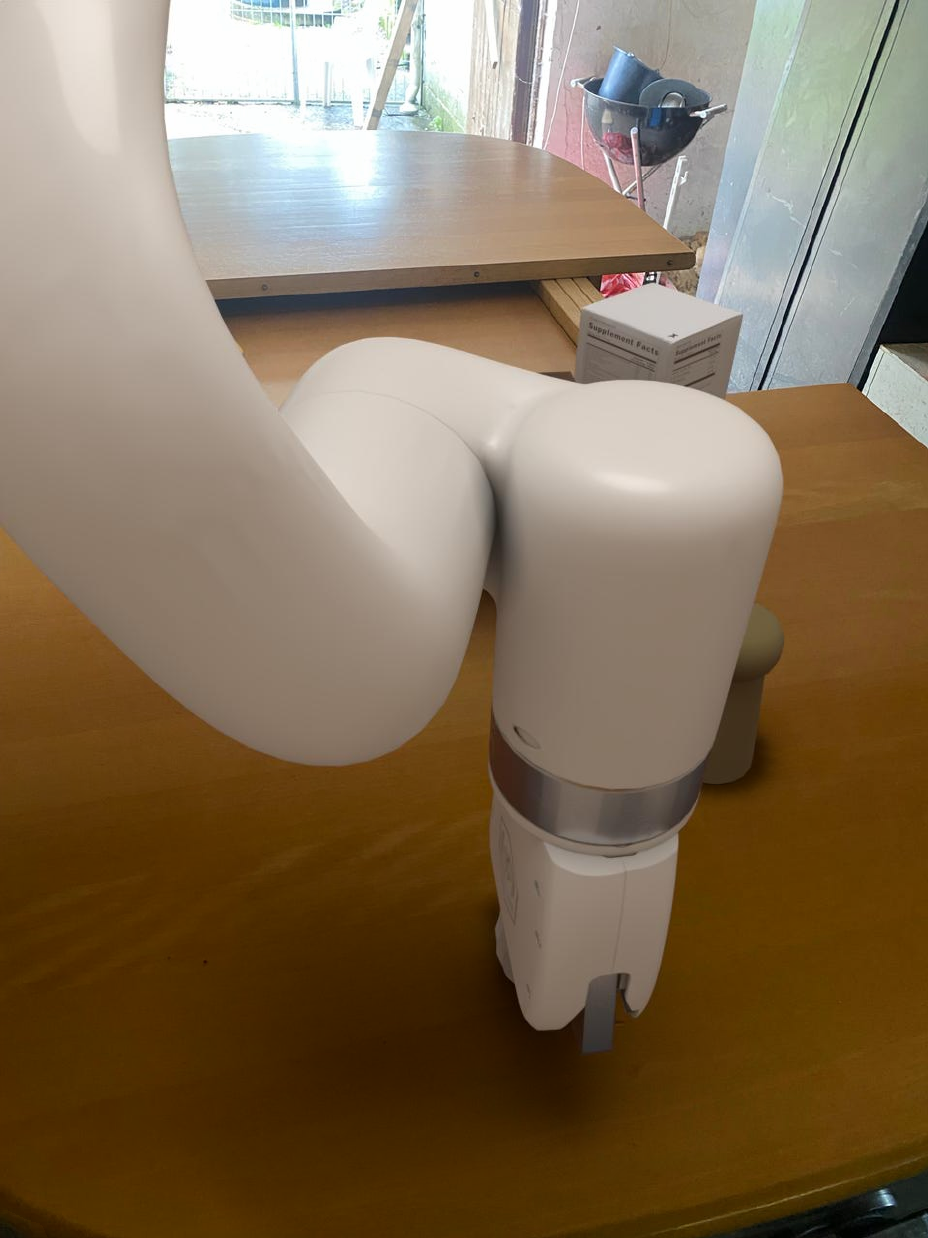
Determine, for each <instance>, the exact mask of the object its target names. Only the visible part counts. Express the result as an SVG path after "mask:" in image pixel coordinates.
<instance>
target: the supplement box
mask: <svg viewBox="0 0 928 1238" xmlns="http://www.w3.org/2000/svg"><path fill="white" fill-rule="evenodd" d="M743 318H744V313H742V312H739V311H736V310H734V309H731V308H728V307H725V306H723V305H718V304H716V303H713V302H710V301H708V300H705V299H703V298H699V297H696V296H693V295H691V294H687V293H685V292H682V291H679V290H676V289H673V288H670V287H669V286H668V287H667V286H665V285H662V284H659V283H656V282H650V283H646V284H642V285H640V286H637V287H635V288H631V289H630V290H627V291H624V292H621V293H618V294H616V295H612V296H609V297H606V298H604V299H601V300H598V301H595V302H593V303H590V304H587V305H585V306H582V307H581V309H580V318H579V324H578V325H579V326H578V336H577V346H576V356H575V365H574V374H573V377H574V379H575V381H576V383H579V384H590V383H596V382H602V381H613V380H644V381H657V382H664V383H670V384H676V385H680V386H685V387H689V388H693V389H696V390H699V391H702V392H706V393H709V394H711V395H713V396H716V397H718V398H721V399H723V400H725V401H726V396H727V393H728V389H729V384H730V378H731V374H732V369H733V364H734V361H735V356H736V351H737V346H738V343H739V342H738V341H739V337H740V333H741V328H742V324H743Z"/></svg>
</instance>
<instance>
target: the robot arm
mask: <svg viewBox="0 0 928 1238" xmlns="http://www.w3.org/2000/svg"><path fill="white" fill-rule="evenodd" d="M171 1H172V0H0V526H1V527H2V529H3V530H4V532H6V534H7V535H8V536H9V537H10V538H11V540H12V541H13V542H14V543H15V544H16V545H17V547H18V548H19V549H20V550H21V551H22V552H23V553H24V555H25V556H26V557H27V558H28V559H29V560H30V561H31V563H32V564H33V565H34V566H35V567H36V568H37V569H38V570H39V571H40V572H41V573H42V574H43V575H44V577H46V578H47V579H48V581H49V582H50V583H52V585H53V586H54V587H56V589H57V590H58V591H59V592H60V593H62V595H64V597H65V598H66V599H68V601H69V602H71V604H72V605H73V606H75V608H77V610H79V611H80V613H82V614H83V615H84V616H85V617H86V618H87V619H88V620H89V621H90V622H91V623H92V624H93V626H95V627H96V628H97V629H98V630H99V631H100V632H101V633H102V634H103V635H104V636H105V637H106V638H107V639H108V640H109V641H110V642H111V643H113V645H114V646H115V647H116V648H117V649H118V650H119V651H121V653H123V654H124V655H125V656H126V657H127V658H128V659H129V660H130V661H131V662H132V663H134V664H135V665H136V667H138V668H139V669H140V670H141V671H142V672H143V673H144V674H145V675H146V676H147V677H149V678H150V679H151V681H153V683H155V684H156V685H157V686H158V687H160V688H161V689H162V690H163V691H165V692H166V693H167V694H169V696H171V697H172V698H173V699H174V700H175V701H177V703H179V704H180V705H182V706H183V708H185V709H186V710H188V711H189V712H191V713H192V714H194V715H195V716H196V717H198V718H199V719H200V720H202V721H204V722H205V723H206V724H208V725H209V726H211V727H212V728H213V729H215V730H216V731H218V732H220V733H222V734H224V735H225V736H227V737H229V738H230V739H232V740H235V741H237V742H238V743H240V744H241V745H244V746H246V747H247V748H249V749H252V750H255V751H257V752H260V753H263V754H265V755H268V756H269V757H274V758H276V759H279V760H282V761H285V762H289V763H295V764H300V765H304V766H305V765H306V766H312V767H346V766H351V765H355V764H360V763H361V764H362V763H366V762H370V761H374V760H376V759H378V758H380V757H383V756H384V755H387V754H390V753H392V752H394V751H397V750H398V749H400V748H401V747H402V746H404V745H405V744H406V743H407V742H409V741H410V740H411V739H413V738H414V737H415V736H416V735H418V734H419V733H420V732H422V731H423V730H424V729H425V728H427V726H428V724H429V723H430V722H431V720H432V719H433V718H434V717H435V715H437V713H439V710H440V709H441V708H442V707H443V705H444V704H445V703H446V701H447V699H448V697H449V696H450V693H451V691H452V689H453V687H454V686H455V684H456V681H457V679H458V676H459V674H460V673H459V672H460V670H461V667H462V665H463V661H464V658H465V656H466V652H467V650H468V646H469V643H470V639H471V636H472V633H473V629H474V625H475V621H476V618H477V613H478V611H479V606H480V602H481V597H482V593H483V591H486V592H488V594H489V595H490V596H491V597H492V599H493V601H494V603H495V608H496V619H495V636H494V637H495V638H494V653H493V654H494V655H493V670H492V671H493V674H492V689H491V691H492V693H491V708H490V723H489V725H490V727H489V740H488V741H489V743H488V746H489V747H488V765H487V769H488V777H489V781H490V785H491V787H492V790H493V795H492V803H491V804H492V805H491V810H490V820H489V831H488V836H489V837H488V839H489V848H490V849H489V852H490V859H491V865H492V871H493V877H494V882H495V888H496V894H497V898H498V904H499V911H500V910H501V915H502V921H503V926H504V931H505V936H506V942H507V947H508V952H509V957H510V962H511V967H512V972H513V977H514V982H515V984H514V985H515V991H516V995H517V999H518V1004H519V1007H520V1010H521V1013H522V1016H523V1021H524V1023H525V1024H528V1025H530V1026H531V1027H532V1028H533V1029H535V1030H536V1031H556V1030H561V1029H563V1028H564V1027H570V1026H571V1030H572V1034H573V1037H574V1040H575V1044H576V1048H577V1051H578V1054H579V1055H580V1056H581V1057H583V1056H590V1055H598V1054H604V1053H611V1052H612V1051H613V1042H614V1033H615V1032H614V1030H615V1019H616V1008H617V1007H616V1005H617V993H618V991H619V995H620V998H621V1002H622V1006H623V1009H624V1012H625V1014H630V1015H631V1017H632V1018H633V1019H637V1018H638V1017H639V1016H640V1015H641V1014H642V1012H643V1011H644V1009H645V1008H646V1006H647V1005H648V1003H649V1001H650V999H651V997H652V994H653V991H654V989H655V986H656V983H657V980H658V976H659V972H660V968H661V965H662V961H663V957H664V953H665V948H666V947H665V946H666V941H667V936H668V932H669V926H670V920H671V915H672V914H671V913H672V906H673V901H674V892H675V883H676V876H677V867H678V866H677V865H678V856H679V832H680V830H681V829H682V828H684V826H685V825H686V824H687V823H688V821H689V820H690V819H691V816H692V815H693V813H694V812H695V809H696V806H697V803H698V802H699V801H698V800H699V798H700V794H701V789H702V786H703V784H704V783H703V779H704V776H705V772H706V769H707V765H708V762H709V758H710V755H711V751H712V748H713V744H714V741H715V737H716V734H717V731H718V727H719V724H720V721H721V717H722V714H723V710H724V706H725V703H726V699H727V695H728V692H729V688H730V684H731V681H732V677H733V674H734V670H735V666H736V663H737V659H738V656H739V652H740V649H741V645H742V642H743V638H744V635H745V632H746V628H747V625H748V621H749V618H750V614H751V611H752V607H753V604H754V602H755V600H756V597H757V593H758V590H759V586H760V583H761V580H762V576H763V572H764V570H765V566H766V562H767V559H768V555H769V552H770V548H771V546H772V541H773V538H774V535H775V530H776V527H777V524H778V519H779V516H780V510H781V507H782V502H783V497H784V475H783V470H782V463H781V458H780V455H779V453H778V451H777V449H776V447H775V445H774V442H773V441H772V439H771V438H770V436H769V434H768V433H767V432H766V431H765V429H764V428H763V427H762V426H761V425H760V424H759V423H758V422H757V421H756V420H755V419H753V417H751V416H750V415H749V414H747V413H746V412H744V411H743V409H741V408H740V407H738V406H736V405H734V404H732V403H730V402H728V401H727V400H726V399H725V400H723V399H721V398H718V397H716V396H713V395H711V394H709V393H706V392H702V391H699V390H696V389H693V388H689V387H685V386H680V385H676V384H670V383H664V382H657V381H644V380H613V381H602V382H596V383H590V384H579V383H575V382H571V381H566V380H562V379H558V378H553V377H549V376H546V375H542V374H539V373H540V372H535V371H531V370H528V369H525V368H520V367H519V366H518V367H517V366H514V365H510V364H506V363H503V362H500V361H496V360H493V359H490V358H487V357H484V356H480V355H477V354H474V353H470V352H467V351H464V350H460V349H456V348H453V347H450V346H447V345H442V344H438V343H434V342H429V341H425V340H419V339H415V338H407V337H399V336H398V337H396V336H376V337H367V338H362V339H358V340H354V341H351V342H348V343H345V344H341V345H339V346H338V347H336V348H334V349H331V351H329V352H327V353H325V354H324V355H323V356H321V357H320V358H318V359H317V360H316V361H315V362H314V363H312V365H311V366H310V367H308V369H307V370H306V371H305V372H304V373H303V374H302V375H301V376H300V378H299V379H298V380H297V382H296V383H295V385H294V386H293V387H292V389H291V390H290V391H289V393H288V395H286V397H285V399H284V400H283V402H282V403H281V404H280V406H279V407H278V408H277V407H276V405H275V403H274V402H273V400H272V399H271V398H270V396H269V394H268V393H267V391H266V390H265V388H264V387H263V385H262V384H261V382H260V381H259V379H258V378H257V376H256V375H255V373H254V371H253V370H252V369H251V367H250V365H249V364H248V362H247V360H246V357H245V355H244V356H243V355H242V353H241V351H240V349H239V347H238V346H237V344H236V342H237V341H236V340H235V338H234V336H233V335H232V333H231V331H230V329H229V327H228V326H227V323H226V322H225V320H224V319H223V317H222V314H221V312H220V310H219V307H218V305H217V303H216V302H215V301H216V300H215V298H214V296H213V294H212V292H211V289H210V287H209V285H208V283H207V280H206V278H205V276H204V274H203V271H202V269H201V267H200V264H199V262H198V258H197V256H196V253H195V250H194V247H193V243H192V240H191V237H190V235H189V231H188V228H187V226H186V222H185V219H184V217H183V213H182V210H181V205H180V204H181V203H180V201H179V196H178V190H177V186H176V181H175V178H174V173H173V169H172V165H171V158H170V151H169V142H168V141H169V140H168V133H167V127H166V126H167V125H166V114H165V111H166V110H165V107H166V106H165V71H166V59H167V48H168V36H169V35H168V34H169V21H170V11H171ZM235 341H236V342H235ZM244 357H245V358H244Z"/></svg>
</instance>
